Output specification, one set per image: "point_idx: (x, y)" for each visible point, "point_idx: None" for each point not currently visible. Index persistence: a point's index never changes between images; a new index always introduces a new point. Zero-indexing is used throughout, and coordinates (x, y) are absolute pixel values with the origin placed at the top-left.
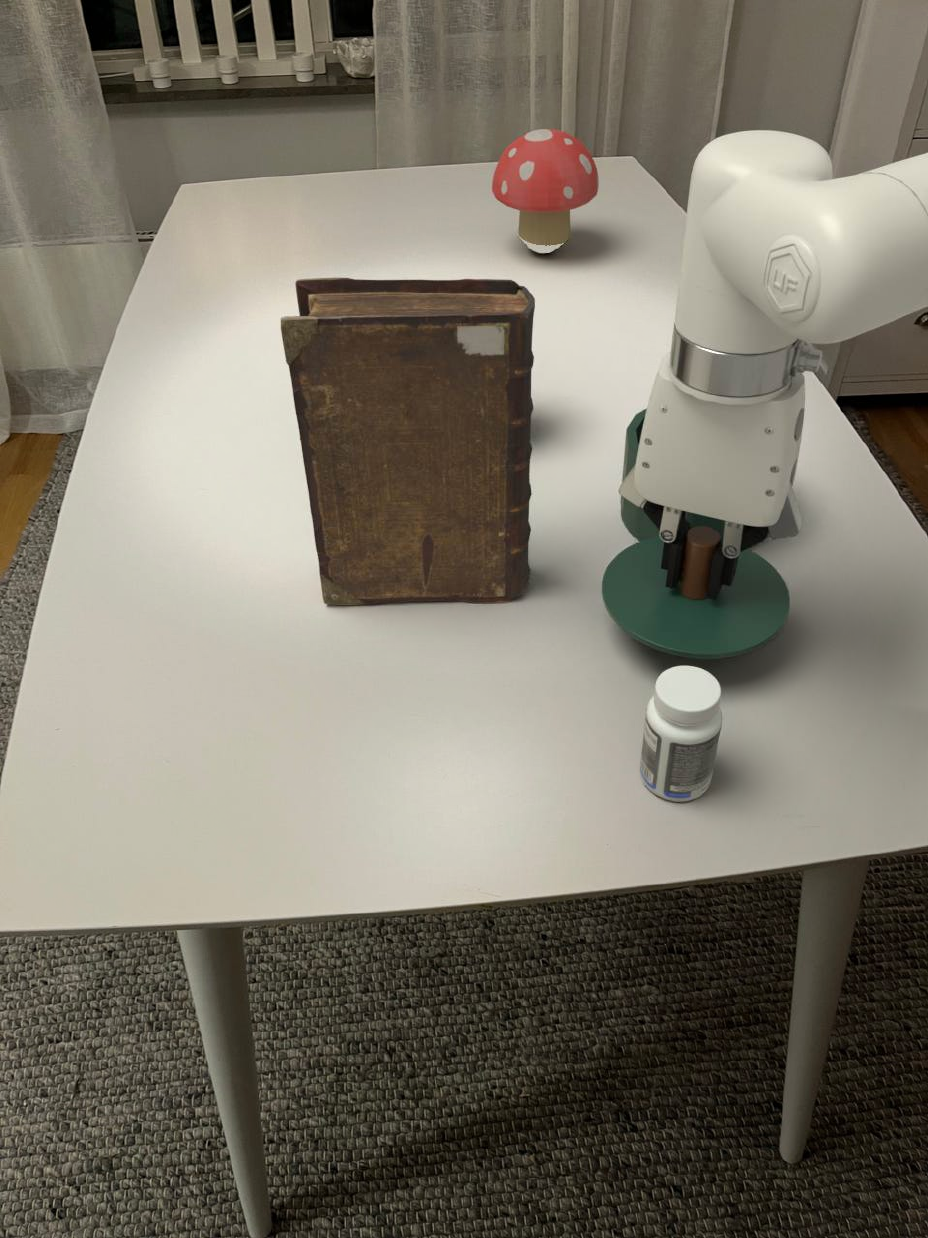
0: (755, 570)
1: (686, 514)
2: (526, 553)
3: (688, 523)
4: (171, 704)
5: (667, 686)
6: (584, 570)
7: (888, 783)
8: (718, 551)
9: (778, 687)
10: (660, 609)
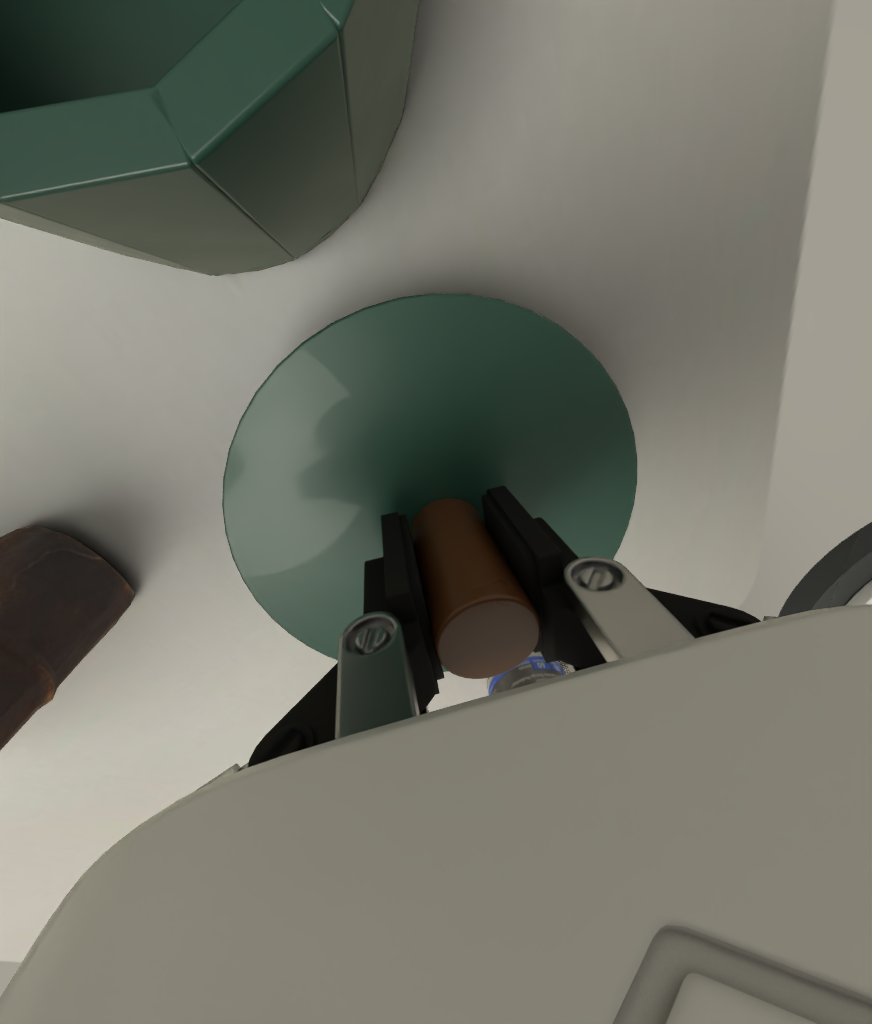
0: (541, 386)
1: (406, 649)
2: (56, 632)
3: (407, 599)
4: (29, 893)
5: None
6: (150, 449)
7: (730, 559)
8: (545, 643)
9: None
10: None
